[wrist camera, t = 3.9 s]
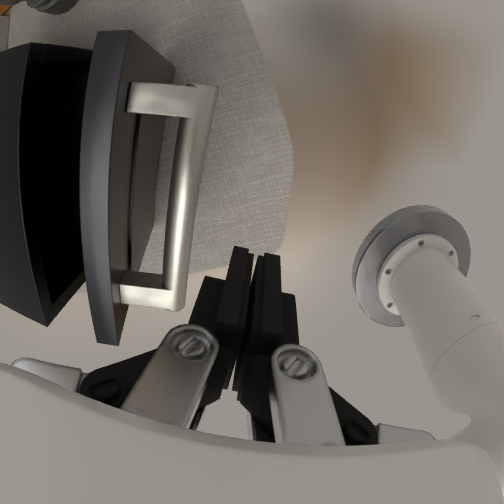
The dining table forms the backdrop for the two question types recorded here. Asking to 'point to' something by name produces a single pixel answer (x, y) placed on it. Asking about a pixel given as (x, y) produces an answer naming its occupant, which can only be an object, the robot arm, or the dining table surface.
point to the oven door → (136, 177)
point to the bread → (4, 9)
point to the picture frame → (4, 32)
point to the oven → (41, 177)
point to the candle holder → (45, 5)
